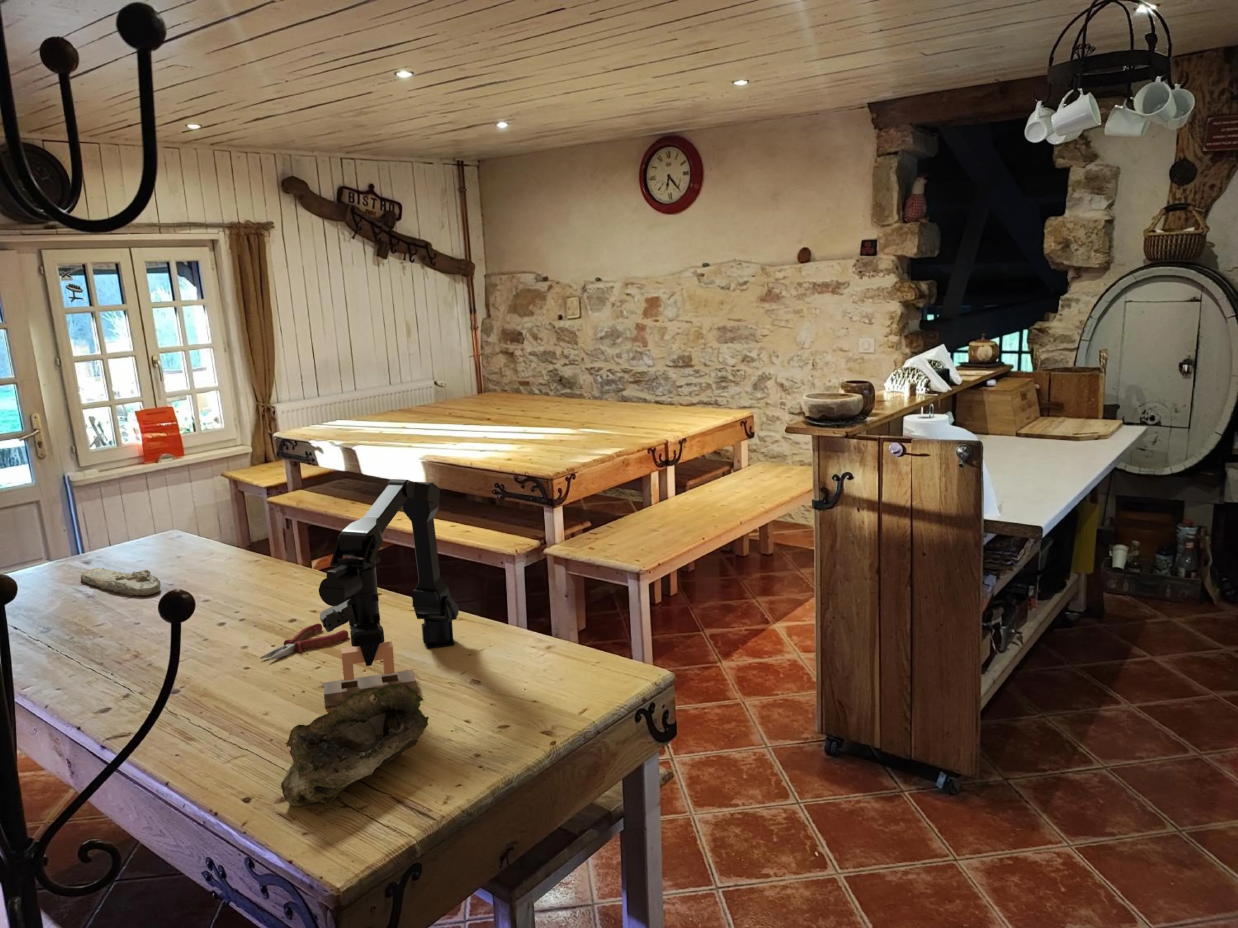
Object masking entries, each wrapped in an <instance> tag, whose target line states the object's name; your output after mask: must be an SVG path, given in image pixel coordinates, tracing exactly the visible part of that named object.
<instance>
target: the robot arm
mask: <svg viewBox="0 0 1238 928" xmlns="http://www.w3.org/2000/svg"><path fill="white" fill-rule="evenodd" d="M440 497H441V492H440V489H439V487H438V485H436V484H435V483H434V482H431V481H414V480H412V481H411V480H409V479H404V478H403V479H401V478H399V479H398V478H394V479H391V480H388V482H387V483H386V486H385V489H384V490H383V491H382V493H381V494H380V495H379V496H378V498H377V499H376V500H375V502H374V503H373V504H372V505H371V506H370V508H369V510H367V512H366V513H365V514H364V515H363V516H362V517H361V518H359V519H357V520H355V521H353V522H350V523H349V524H348V525H347V526H346V527H345V528H344V529H343V530H342V531H341V532H340V534H339V536H338V538H337V541H336V544H335V547H334V550H333V554H332V557H331V559H330V564H329V565H330V567H333V569H329V570H327V571H326V578H323V579H322V581H321V582H320V583H319V587H318V595H319V597H320V599H321V600H322V602H323V603H325V604H326V605H327V606H330V607H328V608H326V609H324V610H322V611H321V612H320V613H319V619H320V621H321V624H322V628H324V629H325V632H326V633H331V632H333V631H334V630H335V629H337V628H339V627H341V626H343V625H345V624H347V623H348V625H349V629H350V633H349V635H350V644H351V647H357V646H360V648H361V651H362V654H363V657H364V661H365V662H364V664H365V667H370V666H373V663H374V661H373V660H374V658H375V655H376V652H377V649H378V647H379V644H380V643H383V642H385V632H384V628H383V626H382V624H381V615H380V607H379V601H380V600H379V593H378V582H377V568H376V567H377V566H376V564H378V563H380V562H381V558H380V557H378V556H377V554H378V552H379V550H380V548H381V546H382V544H383V542H384V538H383V537H384V536H383V534H384V531H385V530H386V529H387V527H388V526H389V524H390V523H391V521H392V520H393V519H394V518H395V516H396V515H397V513H399V511H400V510H402V512H403V513H404V514H405V515H406V517H407V519H408V520H409V521H410V522H411V526H412V527H411V528H412V536H413V543H414V552H415V560H416V561H415V562H416V568H417V576H418V582H417V584H416V586H415V588H414V589H413V590H412V591H411V593H410V594H411V599H412V606H411V607H413V610H414V613H415V616H416V619H417V620H423V622H422V624H421V634H422V636H421V638H422V642H423V644H425V647H426V649H433V648H440V647H441V648H442V647H447V646H454V645H455V644H456V643H455V640H454V631H453V628H454V627H453V621H456V620H457V619H458V616H459V609H460V607H459V605H458V604H457V602H455V601H454V599H453V598H452V596H451V591H450V588H449V586H448V585H447V583H446V582H445V581H444V579H443V578H442V576H441V570H440V562H439V555H438V554H439V553H438V545H437V535H436V528H435V520H434V519H435V515H436V514H437V512H438V510H439V508H440Z"/></svg>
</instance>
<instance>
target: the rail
mask: <svg viewBox="0 0 1238 928" xmlns="http://www.w3.org/2000/svg"><path fill="white" fill-rule="evenodd" d="M394 672H395V673H392V674H386V675H385V674H384V673H380V674H373V675H366V676H360V677H354V679H352V680H345V681H344V679H338V680H331V681H324V682H323V698H324V699H323V700H324V709H326V710H327V709H331V708H337V707H338V706H339V704H340V703H342V702H343V701H344V700H345V699H347V698H349V697H350V696H351V695H352V694H354V693H358V692H360V691H361V690H365V689H367V688H383V687H385V686H388V685H394V684H400V685H402V684H405V685H407V686H408V687H410V688H411V689H412V690H414V691H415V692H416V693H417V694H418V692H417V691H418V689H417V678H416V676H415V671H414V669H407V670H401V671H394Z"/></svg>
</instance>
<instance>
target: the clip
mask: <svg viewBox="0 0 1238 928" xmlns="http://www.w3.org/2000/svg"><path fill="white" fill-rule="evenodd" d="M340 649H341V650H340V652H341V662H342V674H343V680H344V681H345V680H352V679H354V678H355V672H354V665H355V664H361V663H363V664H364V663H365V661H364V657H363V654H362V651H361V648H360V646H357V647H353V646H348V647H341V648H340ZM375 661H382V663H383V672H384V673H383V674H385V675H386V674H392V673H395V672H396V671H395V663H394V661H395V660H394V645H393V642H392V640H391V641H386V642H385V641H384V642H383V643H380V644H379V647H378V649H377V652H376V655H375V658H374V660H373V662H375Z"/></svg>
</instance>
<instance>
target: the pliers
mask: <svg viewBox="0 0 1238 928" xmlns="http://www.w3.org/2000/svg"><path fill="white" fill-rule="evenodd" d="M322 630H323V624H322V623H314V624H313V625H308V626H307V627H305V628H303V629H302V630H300V631H299V632H298V633H297V634H296V635H295V636H294V637H293V638H292V639H285V640H284V641H283V645H281V646H278V647H276V648H274V649H273V650H271V651H269V652H267V653H266V654H264V655H262V656H260V657H259V658H260V659H261V660H262V659H266V658H267V660H268V661H273V660H276V659H279V658H282V657H286V656H288V655H291V654H292V653H297V652H298V653H299V654H301V653H303V651H306V650H312V649H316V648H321V647H327V646H331V645H334V644H335V645H336V644H337V643H340V642H343V641H344V640H347V639H348V638H349V631H347V630H346V629H342V630H340V631H337V632H336V633H333V634H329V635H326V636H320V637H315V638H308V637H309V636H311V635H314V634H316V633H319V632H322ZM306 638H308V639H306Z"/></svg>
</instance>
